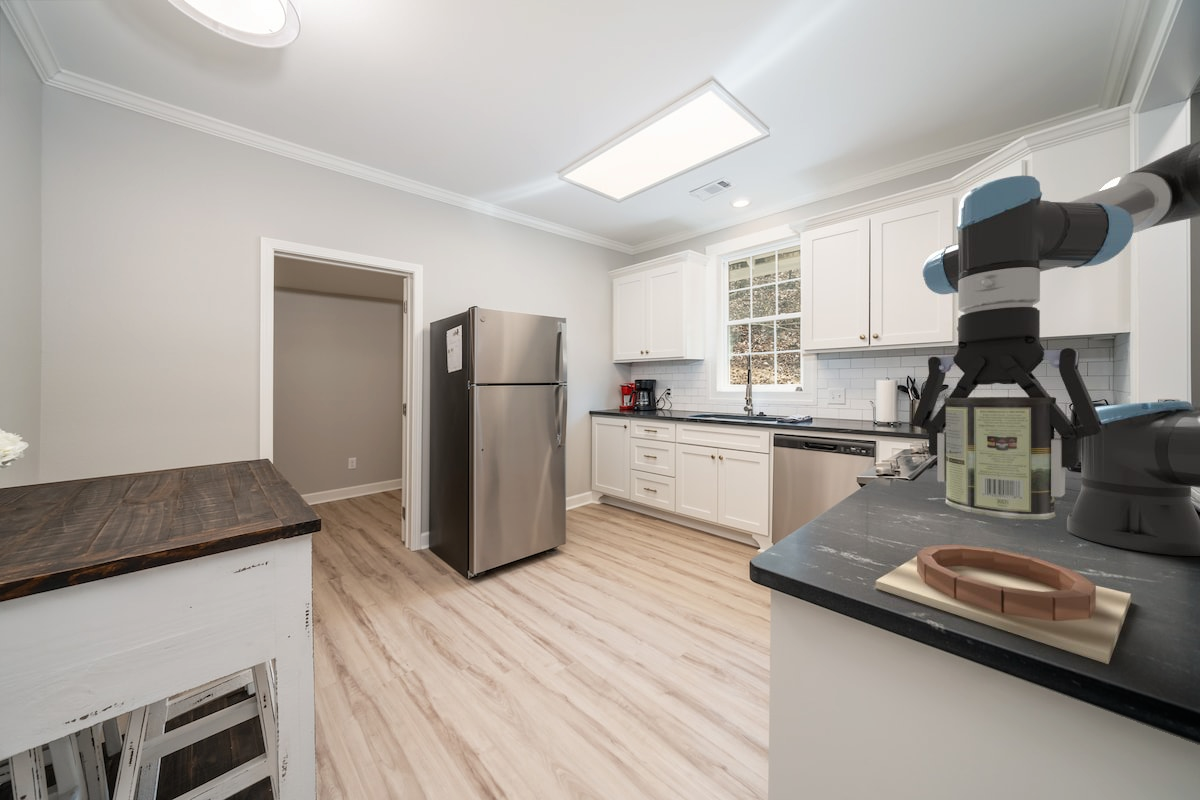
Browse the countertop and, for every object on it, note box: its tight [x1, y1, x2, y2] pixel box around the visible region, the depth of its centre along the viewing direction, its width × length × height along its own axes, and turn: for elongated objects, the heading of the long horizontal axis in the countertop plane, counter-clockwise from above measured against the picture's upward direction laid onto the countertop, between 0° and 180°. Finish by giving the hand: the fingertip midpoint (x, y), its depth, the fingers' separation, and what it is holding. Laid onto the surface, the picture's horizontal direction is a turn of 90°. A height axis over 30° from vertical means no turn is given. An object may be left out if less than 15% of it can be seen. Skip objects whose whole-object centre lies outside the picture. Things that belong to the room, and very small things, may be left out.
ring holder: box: [875, 544, 1132, 665], centre depth 55 cm, size 20×20×4 cm
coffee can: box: [943, 396, 1057, 521], centre depth 54 cm, size 10×10×14 cm
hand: (996, 487), depth 54 cm, fingers closed on coffee can, 10 cm apart
